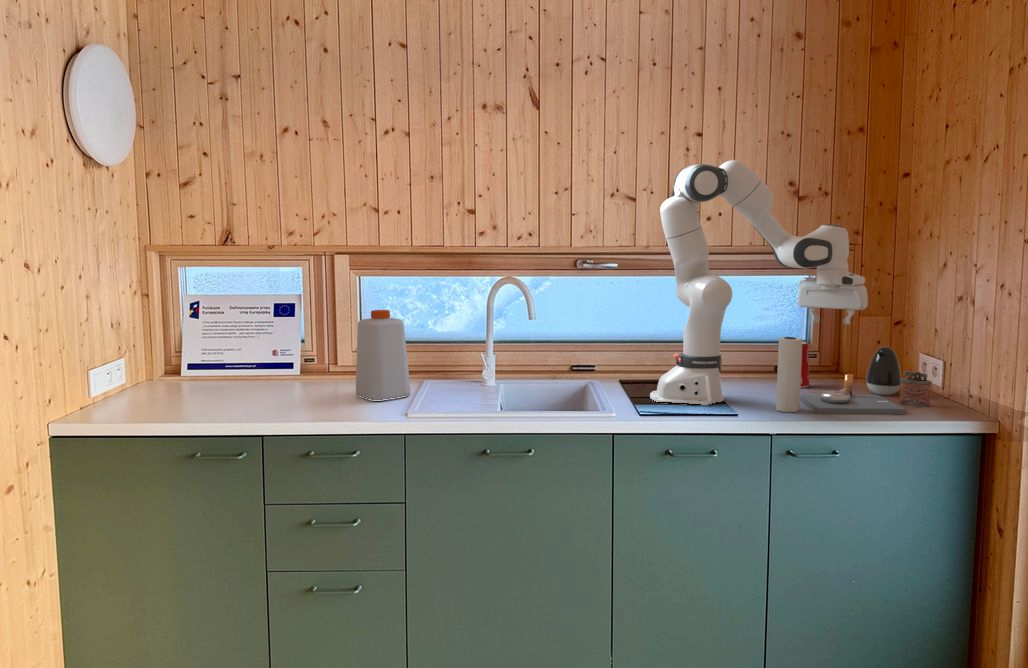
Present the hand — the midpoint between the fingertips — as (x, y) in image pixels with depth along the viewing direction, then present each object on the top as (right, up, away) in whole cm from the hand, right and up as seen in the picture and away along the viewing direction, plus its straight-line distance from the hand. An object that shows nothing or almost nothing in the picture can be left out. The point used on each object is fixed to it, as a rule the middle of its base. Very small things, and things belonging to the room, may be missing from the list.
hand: (831, 323), depth 221 cm
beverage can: (-2, -21, +20) cm, 29 cm away
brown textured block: (+22, -25, -7) cm, 34 cm away
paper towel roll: (-18, -26, -12) cm, 34 cm away
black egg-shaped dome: (+20, -23, +8) cm, 31 cm away
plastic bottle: (-140, -24, +12) cm, 143 cm away
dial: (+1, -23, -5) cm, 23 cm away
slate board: (+2, -25, -8) cm, 26 cm away
